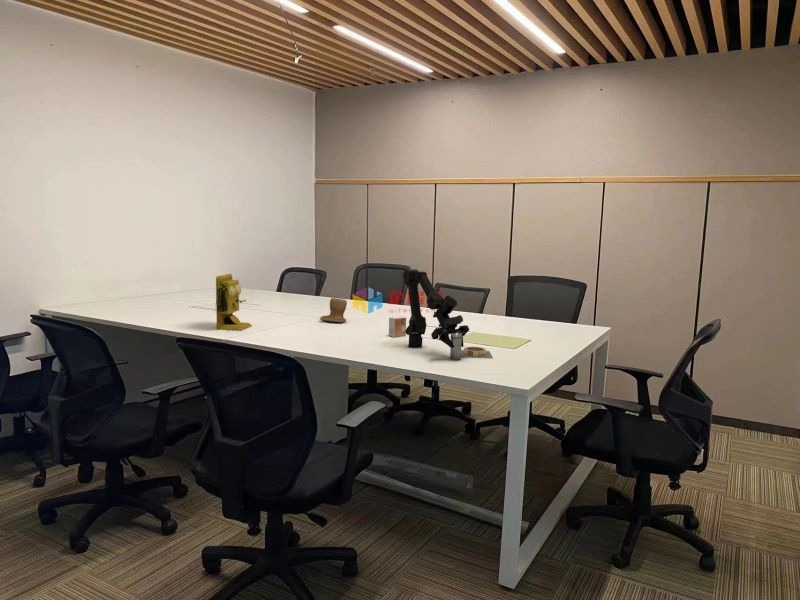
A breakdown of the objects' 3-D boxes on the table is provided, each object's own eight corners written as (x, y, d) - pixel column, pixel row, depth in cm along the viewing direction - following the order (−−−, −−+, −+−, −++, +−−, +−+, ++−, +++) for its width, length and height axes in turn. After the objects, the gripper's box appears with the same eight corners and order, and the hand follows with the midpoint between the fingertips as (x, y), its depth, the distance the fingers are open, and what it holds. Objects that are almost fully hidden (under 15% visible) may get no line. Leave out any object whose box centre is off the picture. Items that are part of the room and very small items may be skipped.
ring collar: (464, 356, 282) (464, 351, 282) (463, 351, 292) (463, 346, 292) (486, 356, 282) (486, 351, 281) (484, 352, 292) (484, 347, 292)
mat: (459, 358, 279) (459, 357, 279) (457, 351, 295) (457, 349, 295) (493, 359, 279) (493, 358, 279) (489, 352, 295) (489, 351, 295)
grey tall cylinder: (450, 361, 273) (451, 333, 271) (449, 359, 278) (450, 331, 276) (461, 362, 273) (462, 334, 271) (460, 359, 278) (461, 332, 276)
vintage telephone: (234, 334, 322) (233, 279, 318) (209, 332, 324) (209, 277, 320) (256, 324, 353) (256, 273, 349) (234, 322, 355) (234, 272, 351)
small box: (394, 337, 324) (394, 318, 323) (388, 335, 329) (388, 317, 327) (406, 336, 329) (406, 317, 327) (400, 334, 333) (400, 316, 332)
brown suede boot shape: (350, 321, 370) (350, 297, 368) (341, 324, 359) (341, 299, 357) (328, 319, 376) (329, 295, 374) (319, 322, 365) (319, 298, 363)
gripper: (435, 310, 271) (449, 339, 263) (467, 308, 281) (482, 335, 273) (425, 324, 278) (438, 352, 271) (457, 322, 288) (470, 348, 280)
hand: (457, 347), depth 273 cm, fingers open, 6 cm apart
